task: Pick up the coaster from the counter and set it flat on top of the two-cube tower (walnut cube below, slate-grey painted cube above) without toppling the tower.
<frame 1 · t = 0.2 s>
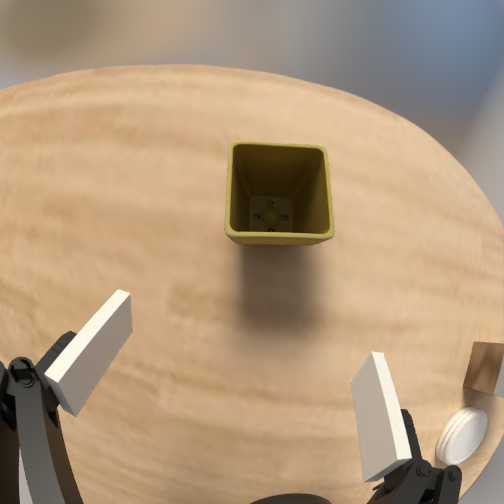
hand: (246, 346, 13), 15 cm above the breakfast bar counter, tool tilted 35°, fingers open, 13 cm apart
block bottom: (480, 364, 28), on the breakfast bar counter, touching block top
coaster: (456, 433, 26), on the breakfast bar counter
flower pot: (269, 218, 31), on the breakfast bar counter
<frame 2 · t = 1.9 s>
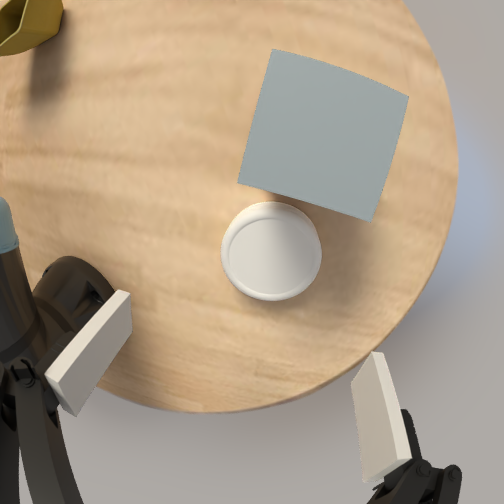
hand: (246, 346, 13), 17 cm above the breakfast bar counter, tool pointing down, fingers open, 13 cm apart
block top: (311, 135, 18), point 7 cm above the breakfast bar counter, touching block bottom
coaster: (272, 245, 30), on the breakfast bar counter
flower pot: (50, 27, 19), on the breakfast bar counter
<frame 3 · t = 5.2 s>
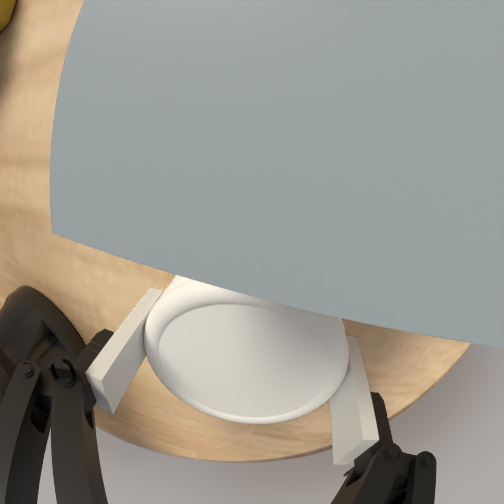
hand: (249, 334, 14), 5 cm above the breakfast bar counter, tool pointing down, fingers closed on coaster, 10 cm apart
block top: (339, 89, 7), point 7 cm above the breakfast bar counter, touching block bottom
coaster: (250, 326, 15), point 4 cm above the breakfast bar counter, touching gripper
flower pot: (5, 17, 11), on the breakfast bar counter
when the fingers open (14 cm above the breakfast bar counter, at t = 8.3 s): coaster stays where it is, resting on block top.
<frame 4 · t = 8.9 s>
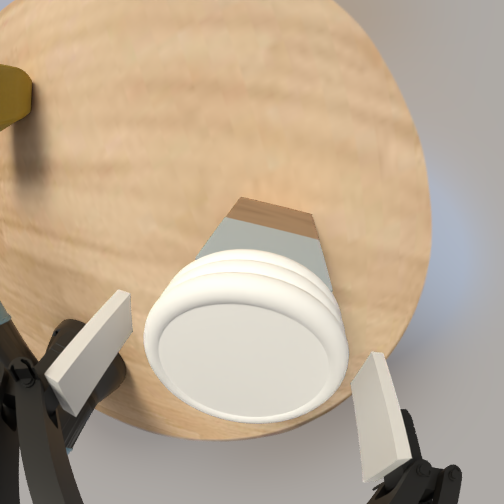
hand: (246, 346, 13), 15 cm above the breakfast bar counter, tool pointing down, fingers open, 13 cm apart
block bottom: (268, 238, 28), on the breakfast bar counter, touching block top
block top: (261, 270, 21), point 7 cm above the breakfast bar counter, touching block bottom, coaster
coaster: (250, 326, 15), point 14 cm above the breakfast bar counter, touching block top
flower pot: (23, 101, 23), on the breakfast bar counter
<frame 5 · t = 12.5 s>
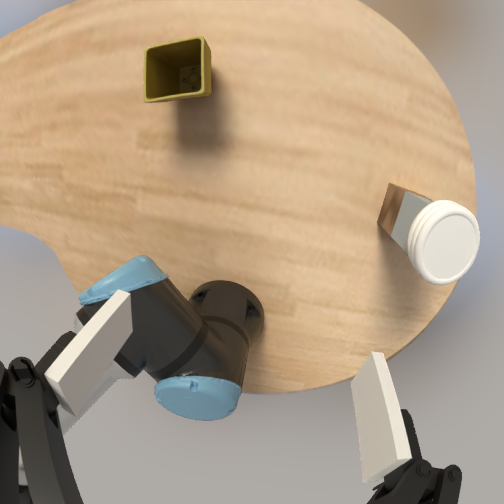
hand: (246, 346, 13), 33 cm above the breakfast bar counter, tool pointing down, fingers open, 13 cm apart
block bottom: (400, 208, 41), on the breakfast bar counter, touching block top
block top: (417, 220, 34), point 7 cm above the breakfast bar counter, touching block bottom, coaster
coaster: (438, 237, 28), point 14 cm above the breakfast bar counter, touching block top
flower pot: (194, 79, 37), on the breakfast bar counter
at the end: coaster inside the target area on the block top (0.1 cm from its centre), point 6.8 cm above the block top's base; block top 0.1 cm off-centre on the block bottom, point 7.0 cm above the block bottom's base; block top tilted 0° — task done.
